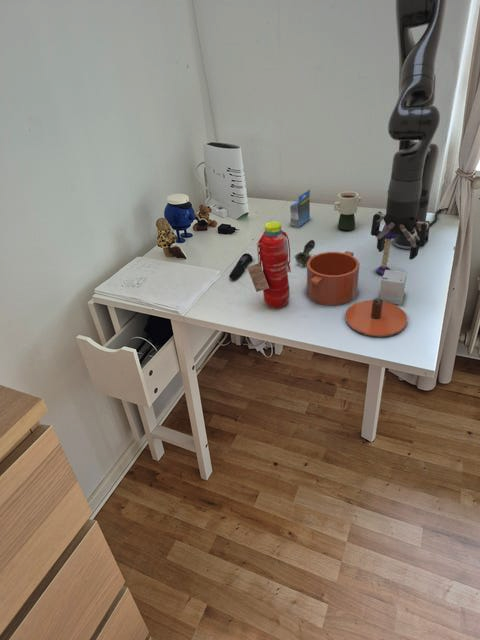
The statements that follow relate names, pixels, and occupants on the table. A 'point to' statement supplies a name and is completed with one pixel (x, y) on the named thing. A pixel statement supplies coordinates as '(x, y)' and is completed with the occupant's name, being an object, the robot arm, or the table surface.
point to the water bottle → (272, 266)
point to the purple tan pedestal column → (385, 252)
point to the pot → (332, 278)
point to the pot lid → (376, 317)
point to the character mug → (347, 209)
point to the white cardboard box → (393, 286)
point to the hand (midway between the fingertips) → (396, 254)
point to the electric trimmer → (240, 265)
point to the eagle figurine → (306, 252)
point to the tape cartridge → (300, 210)
